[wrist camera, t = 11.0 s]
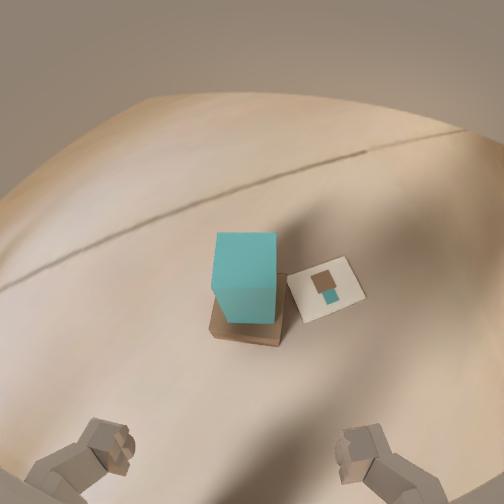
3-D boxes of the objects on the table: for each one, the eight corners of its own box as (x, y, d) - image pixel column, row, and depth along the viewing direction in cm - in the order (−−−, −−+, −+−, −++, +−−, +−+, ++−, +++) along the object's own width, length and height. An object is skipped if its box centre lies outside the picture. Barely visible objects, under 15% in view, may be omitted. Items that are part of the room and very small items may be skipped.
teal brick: (274, 281, 30) (276, 232, 22) (274, 323, 27) (276, 288, 20) (231, 280, 30) (217, 232, 22) (228, 322, 28) (211, 286, 20)
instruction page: (343, 257, 35) (344, 255, 34) (365, 298, 32) (366, 297, 32) (284, 277, 34) (285, 276, 33) (304, 323, 31) (304, 322, 31)
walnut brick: (285, 288, 33) (287, 274, 30) (278, 347, 30) (279, 339, 27) (226, 281, 34) (221, 266, 31) (215, 338, 31) (208, 329, 27)
